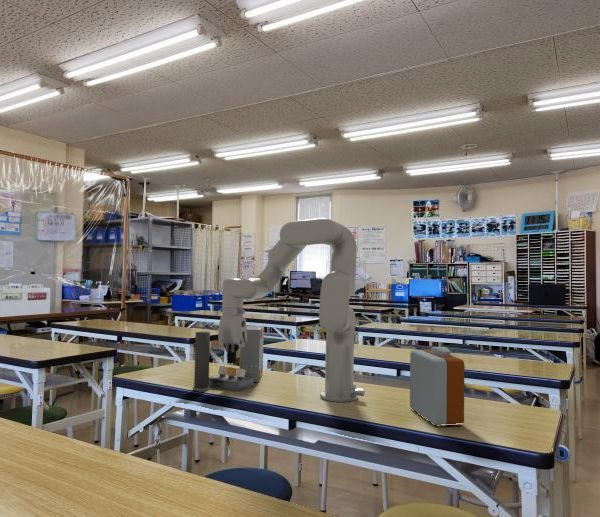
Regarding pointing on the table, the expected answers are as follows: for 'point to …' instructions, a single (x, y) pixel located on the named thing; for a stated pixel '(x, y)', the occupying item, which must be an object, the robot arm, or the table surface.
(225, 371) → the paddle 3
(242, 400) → the table surface
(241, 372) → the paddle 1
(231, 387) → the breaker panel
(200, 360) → the dark grey tall block
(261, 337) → the hard drive box
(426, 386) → the grey and brown block
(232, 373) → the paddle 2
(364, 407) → the table surface
